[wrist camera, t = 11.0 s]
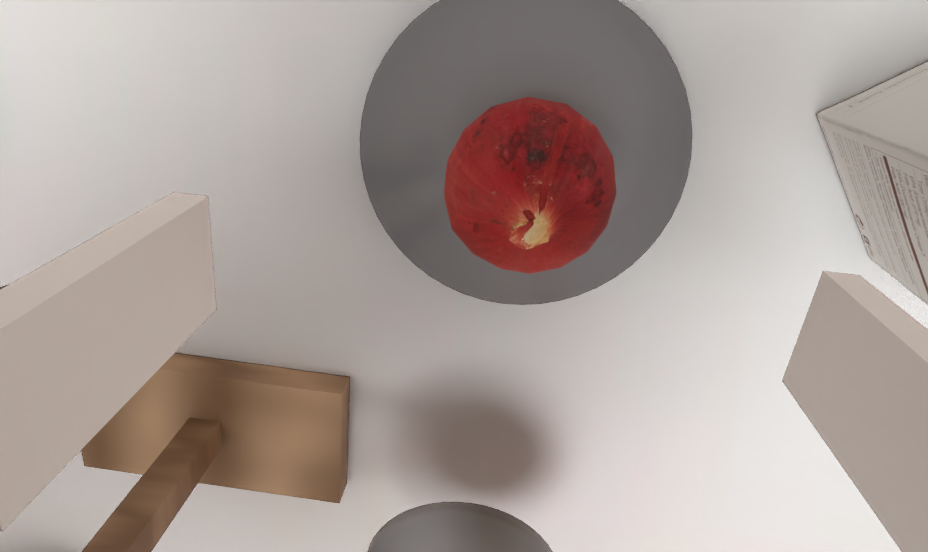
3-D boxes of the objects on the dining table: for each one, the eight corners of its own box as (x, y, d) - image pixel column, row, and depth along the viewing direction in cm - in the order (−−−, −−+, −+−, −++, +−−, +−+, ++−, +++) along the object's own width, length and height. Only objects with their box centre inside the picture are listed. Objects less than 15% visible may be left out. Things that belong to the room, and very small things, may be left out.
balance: (-80, 428, 35) (-573, 778, 20) (-121, 304, 32) (-754, 604, 16) (540, 518, 34) (552, 975, 18) (564, 398, 31) (606, 829, 15)
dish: (363, 270, 29) (355, 284, 27) (374, -42, 23) (365, -45, 22) (643, 307, 28) (649, 322, 27) (721, -4, 23) (733, -4, 22)
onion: (463, 72, 23) (447, 108, 16) (614, 96, 23) (667, 143, 16) (442, 218, 26) (420, 306, 18) (580, 239, 26) (612, 336, 18)
